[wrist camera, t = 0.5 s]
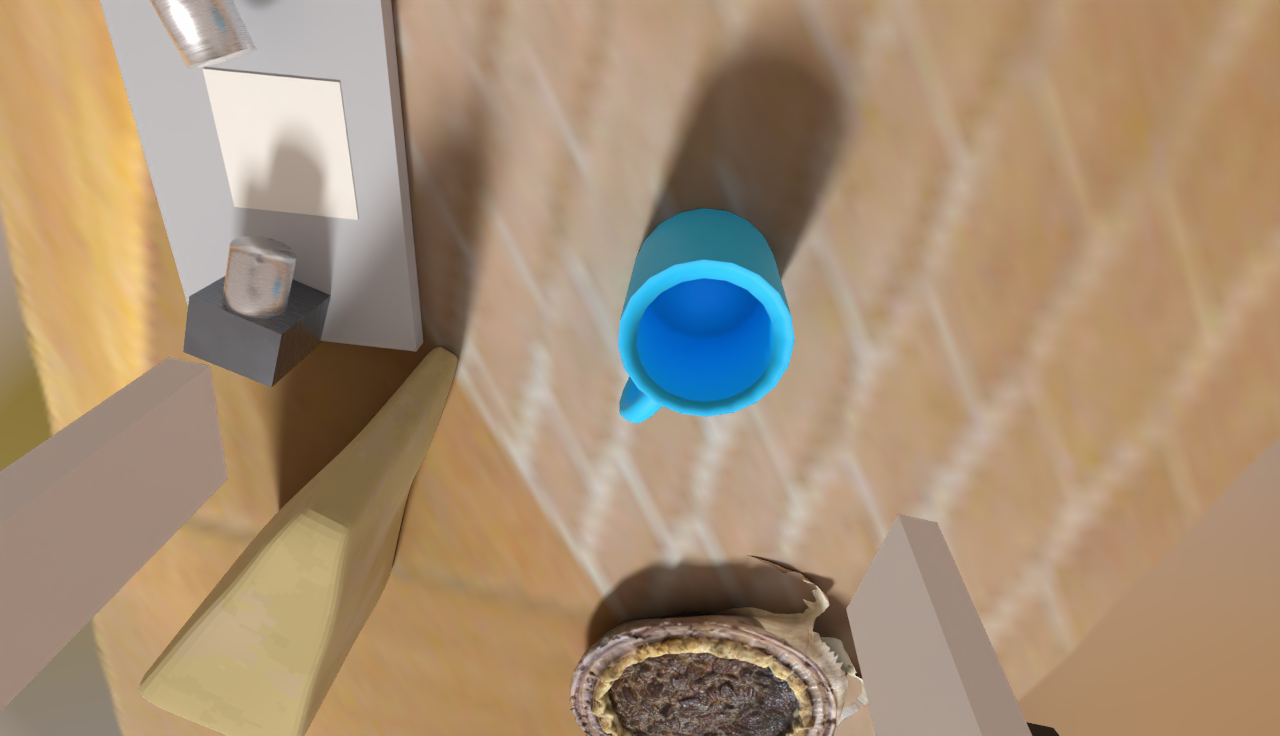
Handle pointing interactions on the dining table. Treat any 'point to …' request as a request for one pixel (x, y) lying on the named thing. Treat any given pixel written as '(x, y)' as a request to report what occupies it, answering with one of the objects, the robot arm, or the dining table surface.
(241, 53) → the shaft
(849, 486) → the dining table surface
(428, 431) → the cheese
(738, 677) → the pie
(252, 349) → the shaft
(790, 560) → the dining table surface
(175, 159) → the grey base plate
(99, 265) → the dining table surface
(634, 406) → the mug
